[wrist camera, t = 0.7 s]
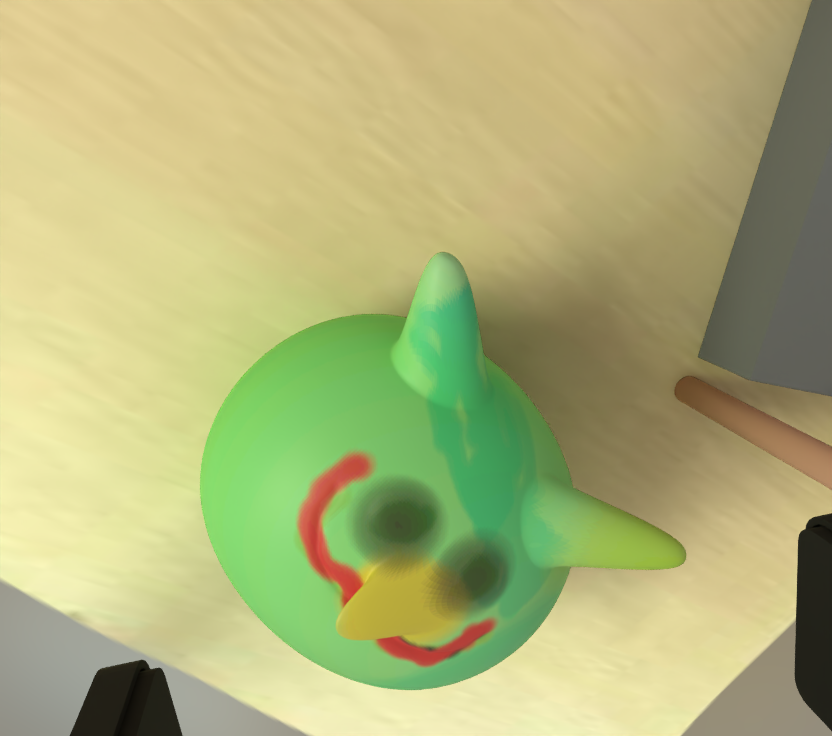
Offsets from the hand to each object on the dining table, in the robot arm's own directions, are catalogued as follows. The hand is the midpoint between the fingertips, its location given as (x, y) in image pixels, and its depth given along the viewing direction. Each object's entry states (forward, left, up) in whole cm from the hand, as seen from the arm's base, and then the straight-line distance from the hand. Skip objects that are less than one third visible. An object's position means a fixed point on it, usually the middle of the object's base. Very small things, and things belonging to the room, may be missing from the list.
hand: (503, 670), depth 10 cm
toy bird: (+7, +3, -29) cm, 30 cm away
